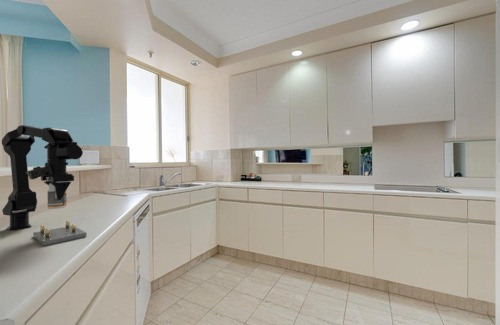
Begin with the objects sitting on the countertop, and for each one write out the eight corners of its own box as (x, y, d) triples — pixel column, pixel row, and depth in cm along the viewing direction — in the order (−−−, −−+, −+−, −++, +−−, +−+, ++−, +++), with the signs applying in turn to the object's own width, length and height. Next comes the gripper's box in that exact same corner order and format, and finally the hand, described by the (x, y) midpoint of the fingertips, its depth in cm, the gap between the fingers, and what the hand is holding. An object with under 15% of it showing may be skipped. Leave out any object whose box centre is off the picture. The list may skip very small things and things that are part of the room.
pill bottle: (69, 207, 89) (68, 182, 89) (50, 209, 84) (50, 183, 84) (63, 206, 92) (63, 182, 92) (45, 208, 87) (45, 183, 87)
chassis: (33, 236, 83) (33, 225, 83) (72, 229, 93) (72, 219, 93) (43, 246, 73) (43, 234, 73) (86, 236, 83) (86, 226, 83)
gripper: (23, 160, 87) (23, 200, 87) (34, 159, 76) (34, 204, 76) (59, 160, 96) (59, 196, 96) (74, 159, 85) (74, 200, 85)
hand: (57, 199), depth 88 cm, fingers closed on pill bottle, 6 cm apart
